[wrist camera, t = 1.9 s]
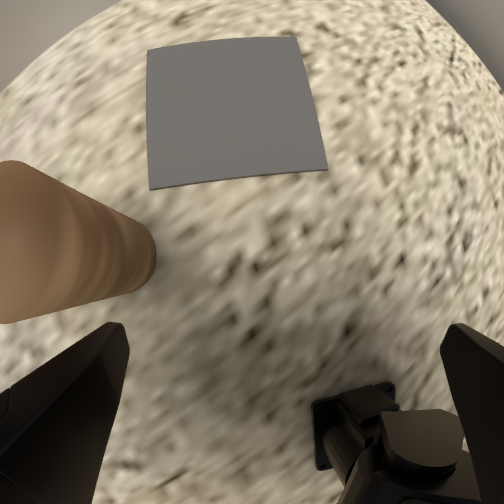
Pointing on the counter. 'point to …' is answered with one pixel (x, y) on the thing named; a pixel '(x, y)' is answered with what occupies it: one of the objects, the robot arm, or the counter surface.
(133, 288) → the pepper mill
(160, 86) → the mat
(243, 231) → the counter surface
